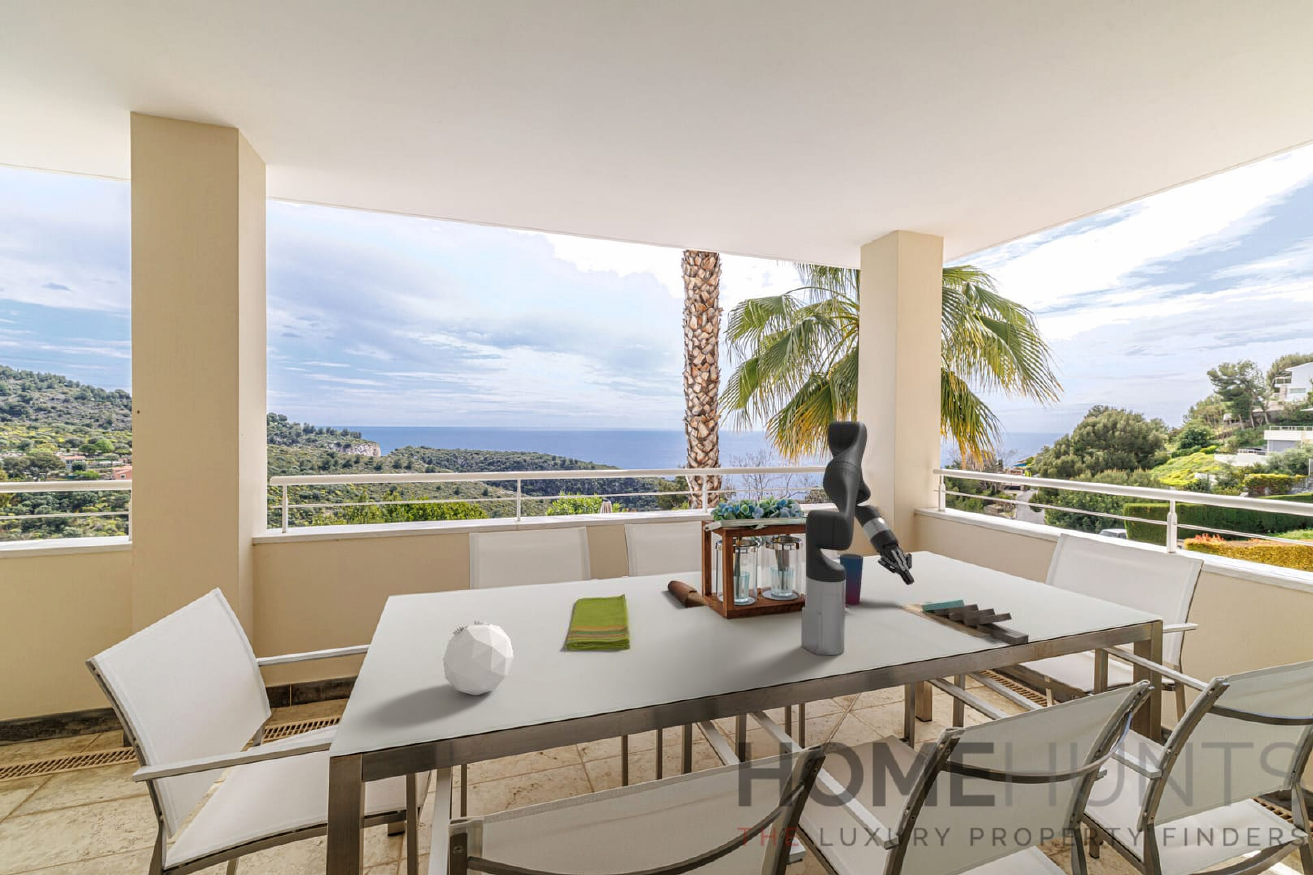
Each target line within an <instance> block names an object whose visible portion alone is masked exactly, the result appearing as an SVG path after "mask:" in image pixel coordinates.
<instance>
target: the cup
mask: <svg viewBox="0 0 1313 875" xmlns="http://www.w3.org/2000/svg"><path fill="white" fill-rule="evenodd" d="M839 564H841V565H843V566H844V567H845V570H846V591H845V608H850V607H849V606H858V605H860V601H861V592H862V591H861V589H862V580H863V567H864V555H861V554H856V553H840V554H839ZM846 605H849V606H846Z"/></svg>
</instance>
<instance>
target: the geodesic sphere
mask: <svg viewBox="0 0 1313 875" xmlns="http://www.w3.org/2000/svg"><path fill="white" fill-rule="evenodd" d="M452 634H453V636H452V637H451V638H450V639H449V640H448V643H447V646H446V649H445V652H444V655H443V659H442V660H443V667H444V668H443V669H444V677H445V680H447V681H448V683H449V684H451V686H452V687H453V688H454V689H455V690H456V691H458V692H461V693H463V694H468V695H472V696H479V695H482V694H485V693H488V692H491V691H494V690H496V689H497V688H498V687H499V685H500V684H501V683H502V682H503V681H504V680H505V678H507V677H508V674H509V673H510V669H511V666H512V664H513V660H514V658H515V656H514V651H513V646H512V642H511V639H510V637H509V636H508V635H507V633H506V632H505V631H504V630H503V629H502V627H501V626H499V625H495V624H491V623H488V622H485V621H479V620H478V621H477V620H474V622H473V624H469V625H466V626H461V627H458V628H456V630H454V631H453V632H452Z"/></svg>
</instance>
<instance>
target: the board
mask: <svg viewBox="0 0 1313 875" xmlns="http://www.w3.org/2000/svg"><path fill="white" fill-rule="evenodd" d="M931 603H933V602H932V601H924V602H919V603H914V604H913V603H912V604H907V605H901V606H897V607H895V608H897V609H899V610H902V611H904V612H907V613H910V614H913V615H915V616H918V617H920V618H924V619H926V620H929V621H931V622H934V623H937V624H940V625H942V626H946V627H948V628H950V629H953V630H955V631H959V632H961V633H963V634H967V635H969V636H971V637H975V638H981V637H985V636H989V635H988V634H985V633H982V632H980V631H977V624H976V625H967V626H965V624H964V621H963V620H955V621H950V618H949V615H951V614H947V615H937V616H935V612H934V610H927V611H923V610H922V606H921V605H925V604H931Z"/></svg>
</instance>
